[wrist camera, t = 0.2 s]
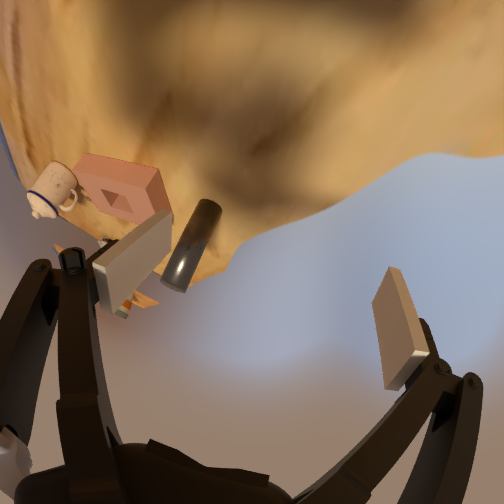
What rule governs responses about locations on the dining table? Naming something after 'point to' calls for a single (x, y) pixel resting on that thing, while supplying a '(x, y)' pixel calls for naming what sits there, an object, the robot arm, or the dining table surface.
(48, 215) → the teacup with lid
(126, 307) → the reusable coffee cup
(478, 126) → the dining table surface
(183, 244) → the pin
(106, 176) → the pink block with hole
